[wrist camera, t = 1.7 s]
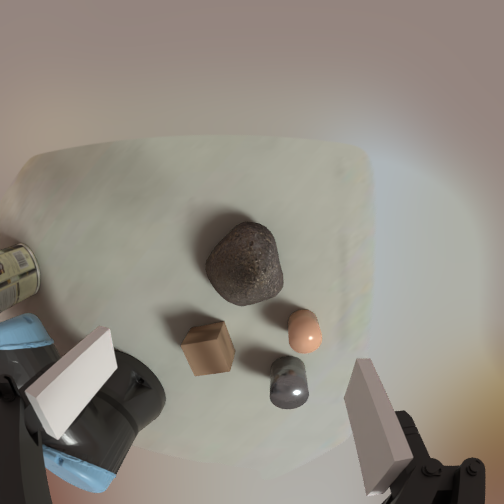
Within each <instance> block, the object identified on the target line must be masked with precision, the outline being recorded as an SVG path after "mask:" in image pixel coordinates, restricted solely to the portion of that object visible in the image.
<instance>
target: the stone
mask: <svg viewBox="0 0 504 504" xmlns="http://www.w3.org/2000/svg"><path fill="white" fill-rule="evenodd" d="M206 272H207V275H208V277H209V280H210V282H211V284H212V285H213V287H214V289H215V290H216V291H217V292H218V293H219V294H220V295H221V296H222V297H223V298H224V299H225V300H227V301H228V302H230V303H233V304H235V305H238V306H246V305H251V304H255V303H258V302H262V301H264V300H267V299H269V298H272V297H275V296H276V295H277V294H278V293H279V292H280V291H281V289H282V287H283V283H284V282H283V273H282V270H281V266H280V262H279V256H278V251H277V247H276V242H275V239H274V237H273V235H272V233H271V232H270V231H269V230H268V229H267V227H265V226H263V225H261V224H259V223H253V222H243V223H241V224H239V225H237V226H236V227H234V228H233V229H232V231H231V232H230V233H229V234H228V235H227V236H225V237H224V238H223V239H222V241H221V242H220V243H219V244H218V245H217V246H216V247H215V249H214V250H213V252H212V253H211V255H210V256H209V258H208V259H207V261H206Z"/></svg>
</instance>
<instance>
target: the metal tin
mask: <svg viewBox="0 0 504 504" xmlns="http://www.w3.org/2000/svg"><path fill="white" fill-rule="evenodd" d="M308 396H309V392H308V385H307V378H306V371H305V365H304V363H303V362H302V361H301V360H300V359H299V358H296V357H293V356H285V357H281V358H279V359H277V360H276V361H275V362H274V363H273V364H272V367H271V381H270V400H271V402H272V403H273V404H274V405H275V406H277V407H279V408H282V409H294V408H297V407H300V406H301V405H303V404H304V403H305V402H306V401H307V399H308Z"/></svg>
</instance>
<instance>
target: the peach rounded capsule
mask: <svg viewBox="0 0 504 504" xmlns="http://www.w3.org/2000/svg"><path fill="white" fill-rule="evenodd" d="M288 334H289V344H290V346H291V348H292V349H293V350H294V351H296V352H298V353H310V352H313V351H315V350H316V349H317V348H318V347H319V346H320V344H321V342H322V334H321V330H320V327H319V323H318V320H317V317H316V315H315V314H314V313H313V312H311V311H309V310H305V309H302V310H298V311H296V312H294V313H293V314H292V315H291V316H290V317H289V320H288Z"/></svg>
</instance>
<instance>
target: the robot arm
mask: <svg viewBox="0 0 504 504" xmlns="http://www.w3.org/2000/svg"><path fill="white" fill-rule="evenodd" d="M53 343H54V341H53V339H52V338H50V337H49V335H48V333H47V331H46V330H45V328H44V326H43V325H42V323H41V321H40V319H39V318H38V317H37V316H36V315H34V314H31V313H25V314H22V315H19V316H16V317H14V318H11V319H8V320H6V321H3V322H0V504H52V500H51V496H50V492H49V486H48V481H47V476H46V470H45V467H46V468H47V469H48V470H50V471H51V472H53V473H54V474H55V475H57V476H59V477H60V478H62V479H63V480H65V481H67V482H68V483H70V484H72V485H74V486H76V487H78V488H81V489H83V490H86V491H89V492H93V493H101V492H104V491H105V490H106V489H107V488H108V486H109V485H110V483H111V481H112V480H113V479H114V478H115V477H116V474H117V472H118V470H119V468H120V466H121V464H122V462H123V460H124V458H125V456H126V454H127V453H128V451H129V449H130V447H131V445H132V443H133V441H134V439H135V437H136V436H137V434H138V432H139V431H140V430H142V429H143V428H144V427H146V426H147V425H148V424H150V423H151V422H152V421H153V420H155V419H156V418H157V417H158V416H159V415H160V413H161V411H162V409H163V407H164V405H165V401H166V397H165V392H164V389H163V387H162V385H161V383H160V381H159V380H158V379H157V377H156V376H155V375H154V374H153V372H152V371H151V370H150V369H149V368H147V367H146V366H145V365H144V364H143V363H141V362H140V361H138V360H137V359H135V358H133V357H131V356H129V355H127V354H125V353H122V352H118V351H114V348H113V343H112V338H111V332H110V328H106V327H102V326H98V327H97V328H96V329H95V330H94V331H92V332H91V333H90V334H89V335H88V336H86V337H85V338H84V339H83V340H82V341H80V342H79V343H78V344H77V345H76V346H75V347H73V348H72V349H71V350H70V351H69V352H68V353H67V354H65V355H64V356H63V357H62V358H61V356H60V354H59V353H58V351H57V349H56V347H55V346H54V344H53ZM344 400H345V404H346V408H347V412H348V416H349V420H350V424H351V428H352V432H353V436H354V440H355V444H356V449H357V453H358V458H359V462H360V467H361V471H362V476H363V481H364V486H365V490H366V496H371V495H377V494H383V493H384V492H385V491H386V490H387V489H388V488H389V487H390V490H391V495H390V496H389V497H388V498H387V499H386V500H385V501H384V502H383V503H382V504H485V466H484V464H483V463H482V461H481V460H479V459H477V458H468V459H466V460H464V461H463V463H462V464H461V465H460V466H443V465H442V463H441V462H440V461H438V460H436V459H433V458H430V456H429V454H428V452H427V449H426V447H425V445H424V443H423V441H422V438H421V436H420V434H419V433H418V429H417V427H415V423H414V421H413V419H412V417H411V416H410V415H409V414H408V413H407V412H406V411H394V409H393V407H392V405H391V403H390V400H389V398H388V396H387V393H386V391H385V389H384V387H383V385H382V383H381V381H380V378H379V376H378V374H377V372H376V370H375V367H374V366H373V363H372V361H371V359H356V362H355V366H354V369H353V372H352V375H351V378H350V382H349V385H348V388H347V391H346V393H345V396H344Z"/></svg>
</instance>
